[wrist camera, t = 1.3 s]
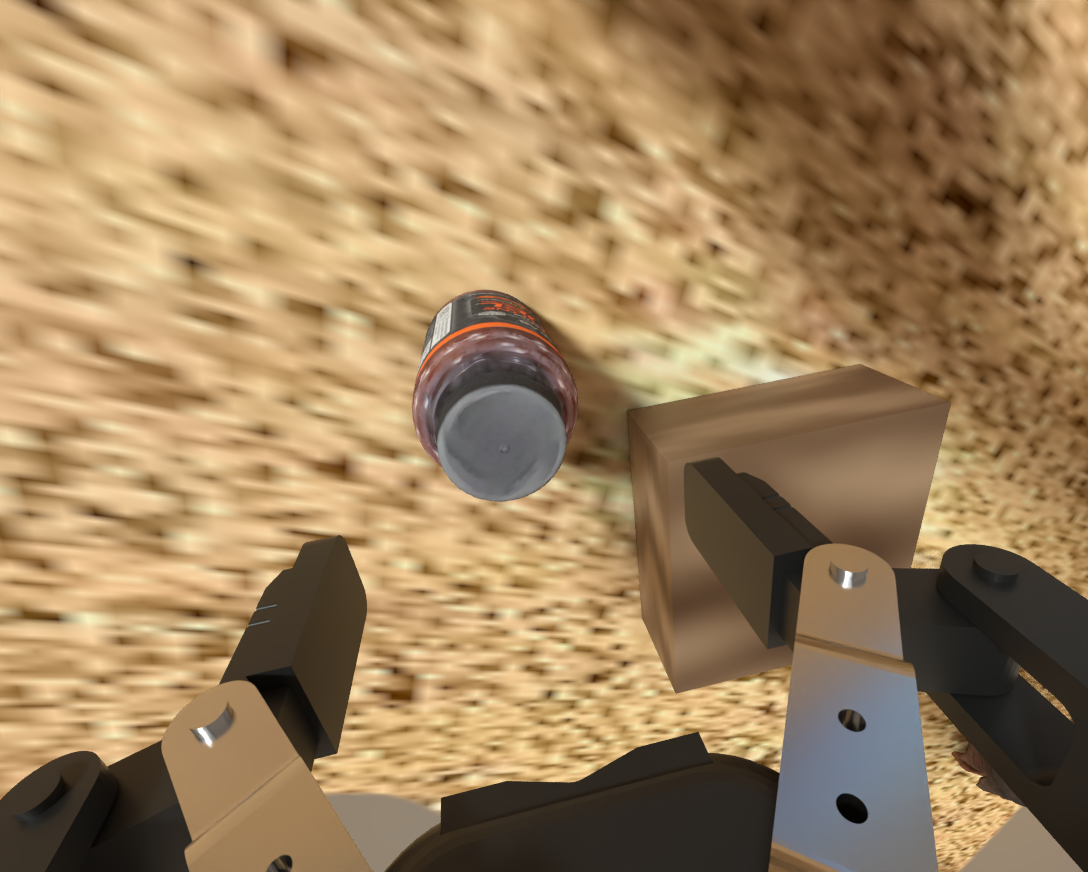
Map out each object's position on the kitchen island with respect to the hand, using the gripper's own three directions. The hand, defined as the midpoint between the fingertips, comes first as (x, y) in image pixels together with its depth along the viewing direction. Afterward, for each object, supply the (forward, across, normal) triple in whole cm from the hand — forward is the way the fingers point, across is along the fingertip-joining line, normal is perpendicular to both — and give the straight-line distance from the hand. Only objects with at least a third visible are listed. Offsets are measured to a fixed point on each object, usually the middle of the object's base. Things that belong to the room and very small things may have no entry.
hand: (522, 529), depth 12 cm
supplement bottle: (+15, 0, 0) cm, 15 cm away
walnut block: (+15, -14, +13) cm, 24 cm away
